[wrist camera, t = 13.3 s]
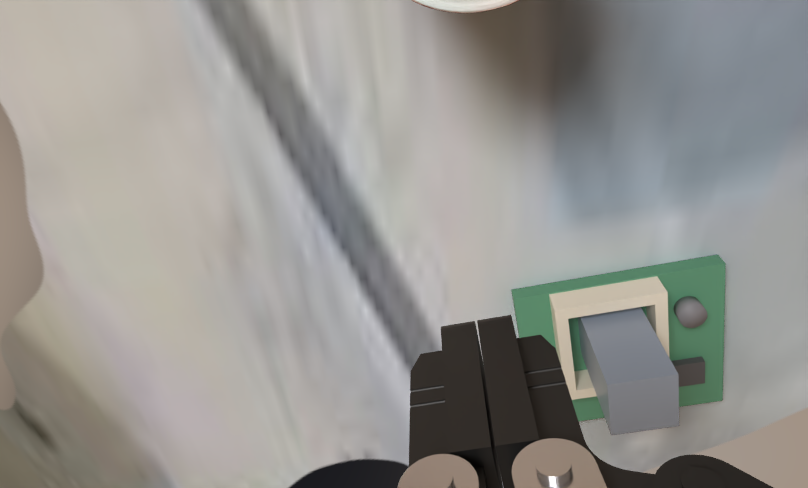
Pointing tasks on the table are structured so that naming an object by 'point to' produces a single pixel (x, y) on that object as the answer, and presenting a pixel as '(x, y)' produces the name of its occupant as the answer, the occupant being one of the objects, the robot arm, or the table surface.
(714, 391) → the board
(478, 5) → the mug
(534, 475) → the robot arm
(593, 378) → the plug
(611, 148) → the table surface
